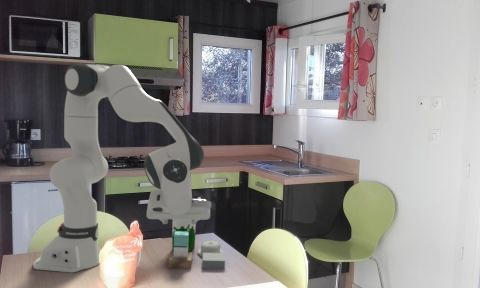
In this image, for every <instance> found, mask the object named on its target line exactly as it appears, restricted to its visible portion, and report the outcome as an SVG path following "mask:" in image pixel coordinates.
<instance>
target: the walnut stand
mask: <svg viewBox="0 0 480 288" xmlns="http://www.w3.org/2000/svg"><path fill="white" fill-rule="evenodd" d="M192 265H193V252H190V251H189V252H188V258H174V251H171V252H170V255H169V258H168V269H192Z"/></svg>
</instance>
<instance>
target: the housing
mask: <svg viewBox="0 0 480 288" xmlns="http://www.w3.org/2000/svg"><path fill="white" fill-rule="evenodd" d="M188 241H189V232H183V231H175V234H174V250H173V252H174V258H188Z"/></svg>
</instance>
